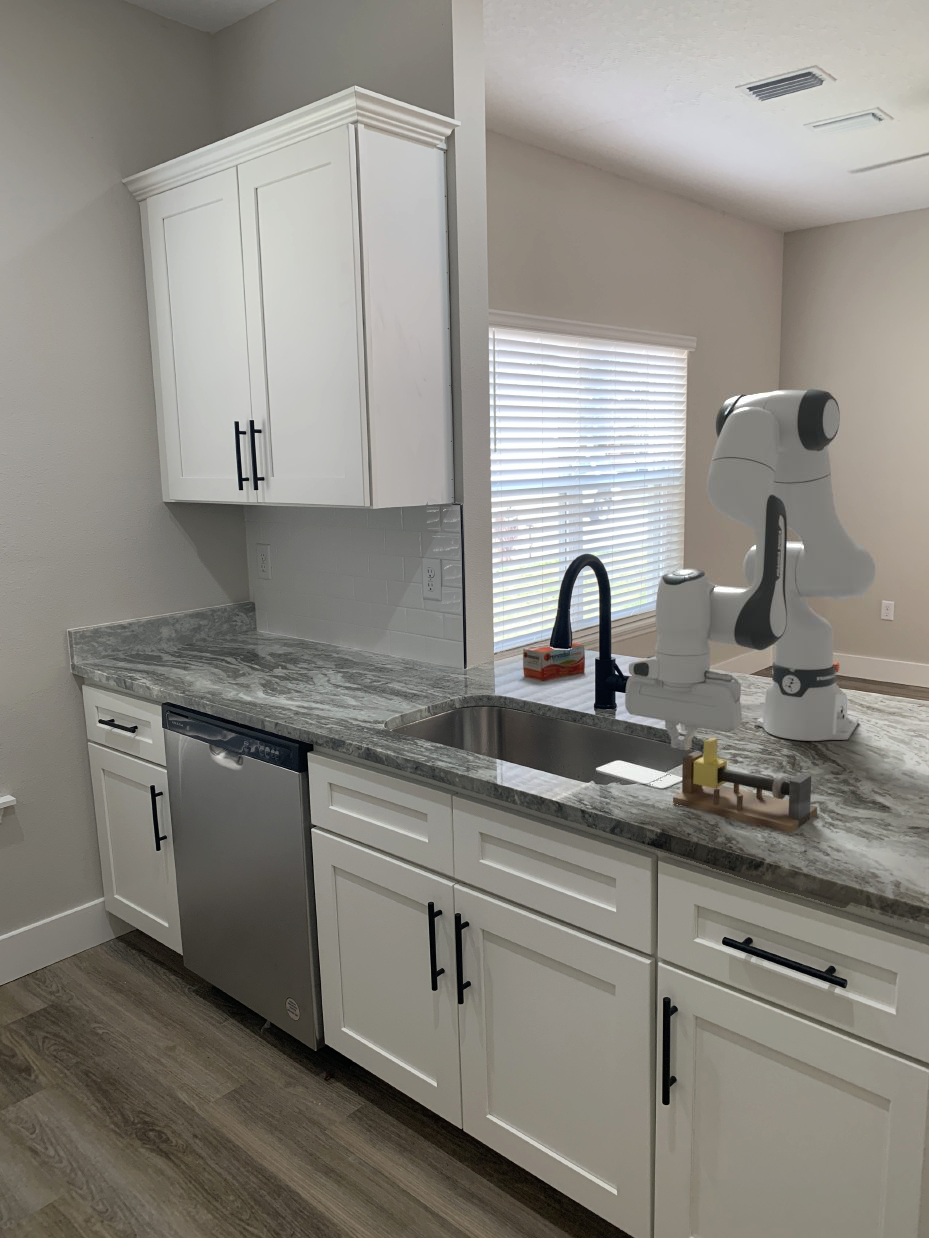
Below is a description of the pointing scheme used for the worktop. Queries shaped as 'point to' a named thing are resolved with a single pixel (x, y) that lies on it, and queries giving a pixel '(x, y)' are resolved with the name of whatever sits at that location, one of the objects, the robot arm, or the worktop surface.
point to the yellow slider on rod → (750, 797)
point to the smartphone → (638, 774)
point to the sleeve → (709, 766)
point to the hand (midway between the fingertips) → (681, 747)
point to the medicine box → (553, 662)
